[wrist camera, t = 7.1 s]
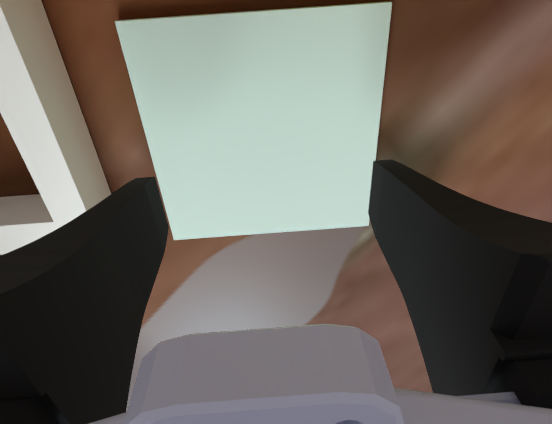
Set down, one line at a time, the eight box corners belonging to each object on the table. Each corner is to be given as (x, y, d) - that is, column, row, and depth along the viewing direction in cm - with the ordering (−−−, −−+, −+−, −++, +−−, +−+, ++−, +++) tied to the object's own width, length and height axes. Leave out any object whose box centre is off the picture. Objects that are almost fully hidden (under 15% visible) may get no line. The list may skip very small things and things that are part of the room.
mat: (366, 221, 19) (368, 225, 19) (175, 235, 19) (174, 239, 19) (388, 1, 14) (392, 2, 13) (118, 20, 13) (114, 21, 13)
